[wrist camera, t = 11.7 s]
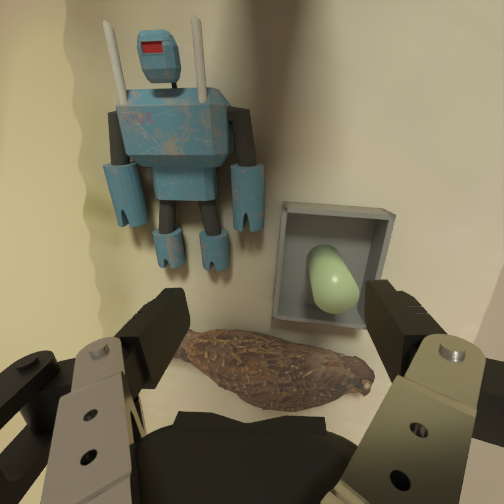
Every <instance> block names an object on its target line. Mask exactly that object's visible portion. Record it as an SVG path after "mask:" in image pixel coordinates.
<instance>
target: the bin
mask: <svg viewBox="0 0 504 504" xmlns="http://www.w3.org/2000/svg"><path fill="white" fill-rule="evenodd" d="M395 217H396V215H395V214H393V213H391V212H389V211H387V210H385V209H383V208H370V207H356V206H342V205H327V204H313V203H299V202H285V201H283V207H282V217H281V228H280V239H279V250H278V261H277V272H276V283H275V294H274V305H273V316H272V319H280V320H288V321H297V322H305V323H314V324H323V325H331V326H340V327H348V328H357V329H365V330H367V328H366V324H365V318H364V306H365V284H366V281H367V280H380V279H381V275H382V271H383V267H384V263H385V259H386V254H387V250H388V246H389V242H390V238H391V234H392V230H393V225H394V221H395ZM321 244H327V245H331V246H333V247H334V248H336V249H337V250H338V252H339V254H340V255H341V257H342V259H343V261H344V263H345V264H346V266H347V268H348V270H349V271H350V273H351V275H352V277H353V279H354V280H355V282H356V284H357V286H358V288H359V298H358V301H357V303H356V304H355V305H354V307H352V308H351V309H350V310H348V311H346V312H344V313H339V314H332V313H328V312H325V311H323V310H321V309H320V308H319V307H318V306H317V305H316V303H315V301H314V297H313V292H312V287H311V282H310V277H309V272H308V267H307V262H306V259H307V255H308V253H309V251H310V250H311V249H312V248H314V247H315V246H318V245H321Z"/></svg>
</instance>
